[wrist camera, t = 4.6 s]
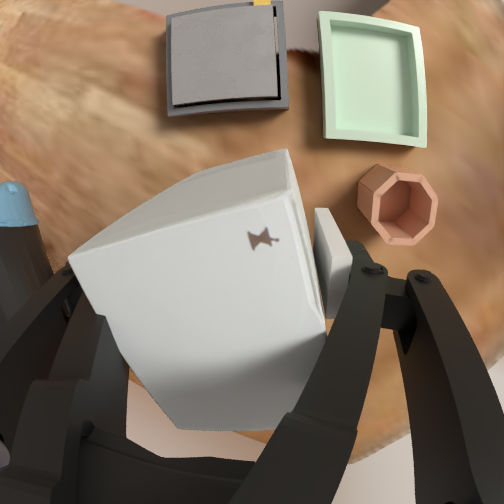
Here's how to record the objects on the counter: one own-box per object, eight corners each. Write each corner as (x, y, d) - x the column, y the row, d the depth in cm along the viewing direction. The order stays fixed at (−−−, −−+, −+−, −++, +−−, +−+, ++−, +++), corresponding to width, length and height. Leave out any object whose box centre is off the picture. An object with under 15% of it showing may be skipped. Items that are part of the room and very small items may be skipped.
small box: (194, 172, 18) (59, 252, 6) (287, 146, 17) (299, 182, 5) (229, 277, 21) (176, 433, 9) (314, 260, 20) (340, 424, 8)
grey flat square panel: (176, 105, 25) (172, 104, 24) (174, 20, 21) (171, 18, 20) (277, 97, 24) (277, 96, 23) (273, 8, 20) (272, 4, 19)
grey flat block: (178, 116, 28) (165, 116, 25) (176, 20, 23) (164, 10, 20) (288, 109, 27) (289, 106, 23) (283, 8, 22) (282, -5, 18)
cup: (355, 223, 31) (368, 244, 25) (359, 162, 28) (374, 170, 23) (409, 226, 30) (430, 245, 24) (415, 167, 27) (440, 177, 22)
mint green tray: (322, 137, 27) (325, 138, 25) (316, 19, 22) (318, 11, 20) (416, 146, 26) (426, 148, 24) (410, 33, 20) (419, 27, 18)
